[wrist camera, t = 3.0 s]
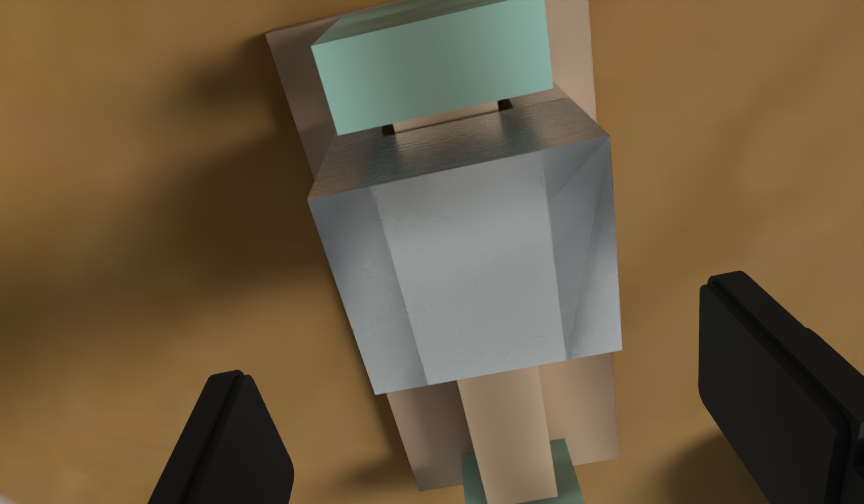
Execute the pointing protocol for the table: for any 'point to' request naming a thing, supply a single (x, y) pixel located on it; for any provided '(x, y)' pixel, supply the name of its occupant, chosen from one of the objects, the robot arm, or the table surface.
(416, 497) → the table surface
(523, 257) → the grey sliding block
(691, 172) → the table surface
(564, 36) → the rail bed
